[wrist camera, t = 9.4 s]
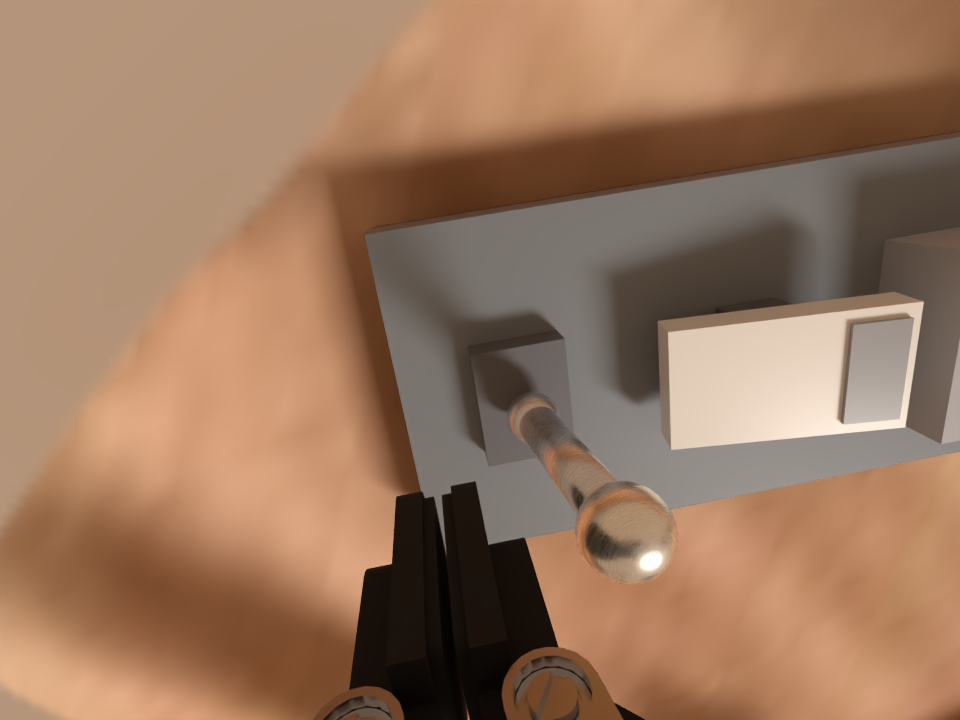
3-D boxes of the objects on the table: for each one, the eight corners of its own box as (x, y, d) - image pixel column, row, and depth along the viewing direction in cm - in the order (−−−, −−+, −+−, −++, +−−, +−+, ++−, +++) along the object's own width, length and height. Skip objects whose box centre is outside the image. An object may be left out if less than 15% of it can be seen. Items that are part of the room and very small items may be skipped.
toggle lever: (550, 372, 16) (699, 504, 9) (556, 428, 17) (699, 590, 10) (490, 386, 16) (598, 534, 9) (499, 442, 17) (605, 621, 10)
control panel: (1041, 118, 19) (1272, 94, 14) (983, 408, 23) (1144, 473, 18) (371, 228, 18) (352, 246, 13) (433, 516, 22) (438, 620, 17)
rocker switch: (894, 291, 16) (927, 302, 14) (879, 410, 17) (908, 429, 16) (657, 321, 16) (669, 333, 15) (661, 432, 18) (672, 452, 16)
